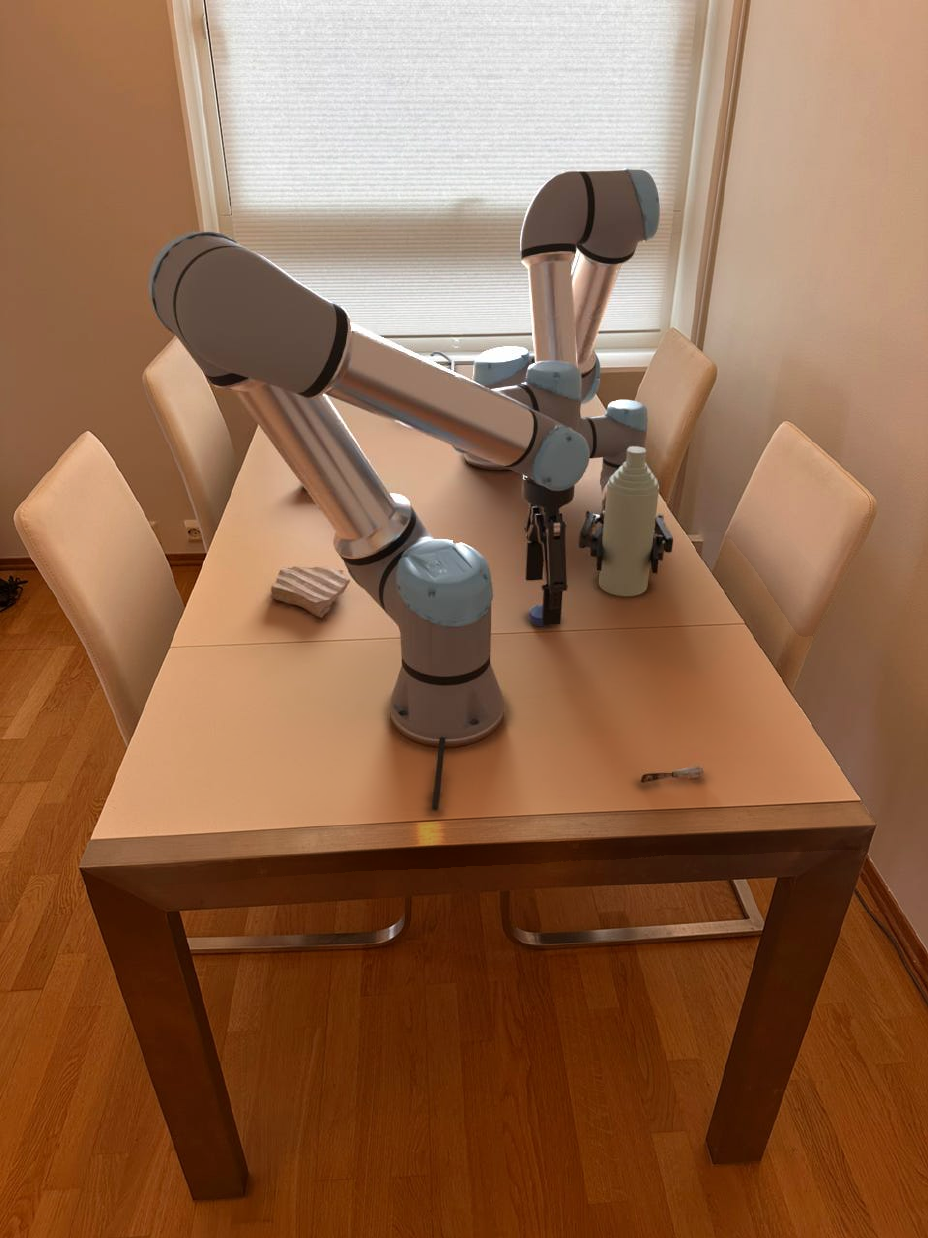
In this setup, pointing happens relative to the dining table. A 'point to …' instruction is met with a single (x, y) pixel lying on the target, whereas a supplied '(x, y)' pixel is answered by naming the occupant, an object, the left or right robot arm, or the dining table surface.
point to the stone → (310, 587)
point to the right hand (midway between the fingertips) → (627, 564)
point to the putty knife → (674, 774)
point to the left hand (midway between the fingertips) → (542, 600)
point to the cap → (536, 615)
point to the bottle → (629, 526)
